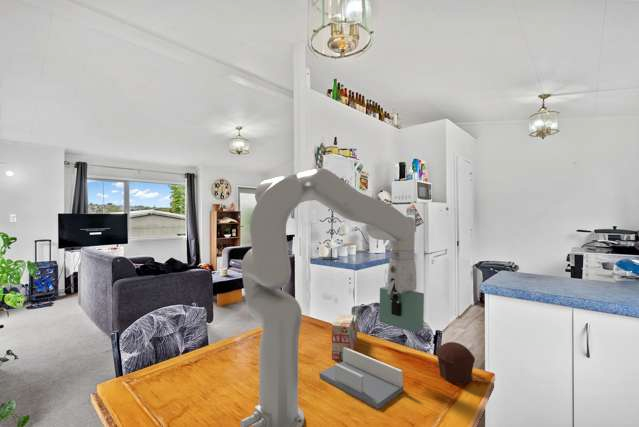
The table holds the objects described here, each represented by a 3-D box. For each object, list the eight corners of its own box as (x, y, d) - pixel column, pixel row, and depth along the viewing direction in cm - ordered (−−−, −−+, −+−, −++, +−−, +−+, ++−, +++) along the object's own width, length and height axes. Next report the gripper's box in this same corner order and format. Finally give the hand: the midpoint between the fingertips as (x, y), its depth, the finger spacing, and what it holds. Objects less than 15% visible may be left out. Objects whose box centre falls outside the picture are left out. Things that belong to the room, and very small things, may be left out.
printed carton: (342, 336, 131) (342, 307, 131) (357, 338, 130) (357, 308, 130) (331, 359, 110) (331, 324, 110) (349, 361, 109) (349, 326, 109)
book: (415, 333, 93) (416, 295, 93) (379, 321, 102) (379, 287, 102) (423, 329, 96) (423, 293, 96) (387, 318, 105) (387, 286, 106)
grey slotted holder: (378, 409, 82) (378, 386, 82) (319, 377, 98) (319, 358, 98) (403, 390, 91) (403, 369, 91) (345, 364, 107) (345, 346, 107)
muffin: (481, 387, 93) (481, 353, 93) (443, 386, 93) (443, 352, 93) (465, 368, 104) (465, 337, 104) (431, 366, 105) (431, 336, 105)
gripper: (397, 258, 91) (396, 322, 91) (425, 254, 103) (424, 311, 102) (376, 256, 96) (375, 316, 96) (405, 252, 108) (404, 306, 108)
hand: (400, 312), depth 99 cm, fingers closed on book, 4 cm apart
